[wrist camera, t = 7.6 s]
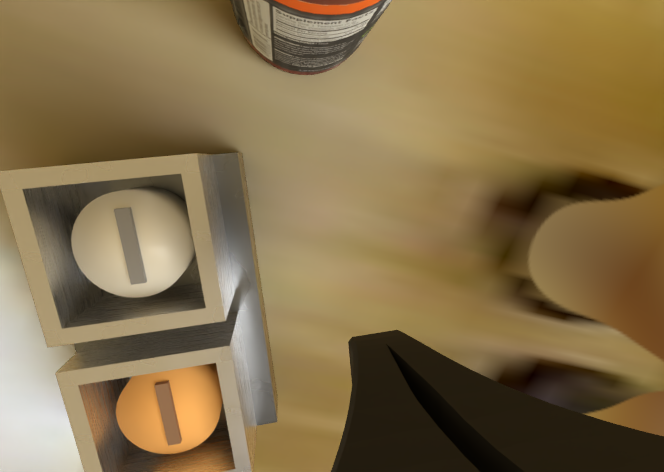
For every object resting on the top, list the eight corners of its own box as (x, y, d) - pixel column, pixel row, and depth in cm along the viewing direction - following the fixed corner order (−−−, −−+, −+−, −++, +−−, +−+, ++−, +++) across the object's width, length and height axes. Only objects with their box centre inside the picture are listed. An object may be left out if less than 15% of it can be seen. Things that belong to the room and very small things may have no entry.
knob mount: (277, 395, 20) (277, 473, 15) (122, 423, 19) (68, 516, 14) (241, 153, 17) (227, 150, 12) (57, 170, 16) (-41, 174, 11)
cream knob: (208, 273, 16) (197, 291, 13) (111, 286, 15) (83, 306, 13) (191, 181, 15) (177, 185, 13) (88, 191, 14) (54, 197, 12)
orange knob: (232, 411, 17) (226, 447, 15) (145, 427, 17) (126, 466, 15) (219, 336, 16) (210, 362, 14) (126, 350, 16) (103, 379, 14)
